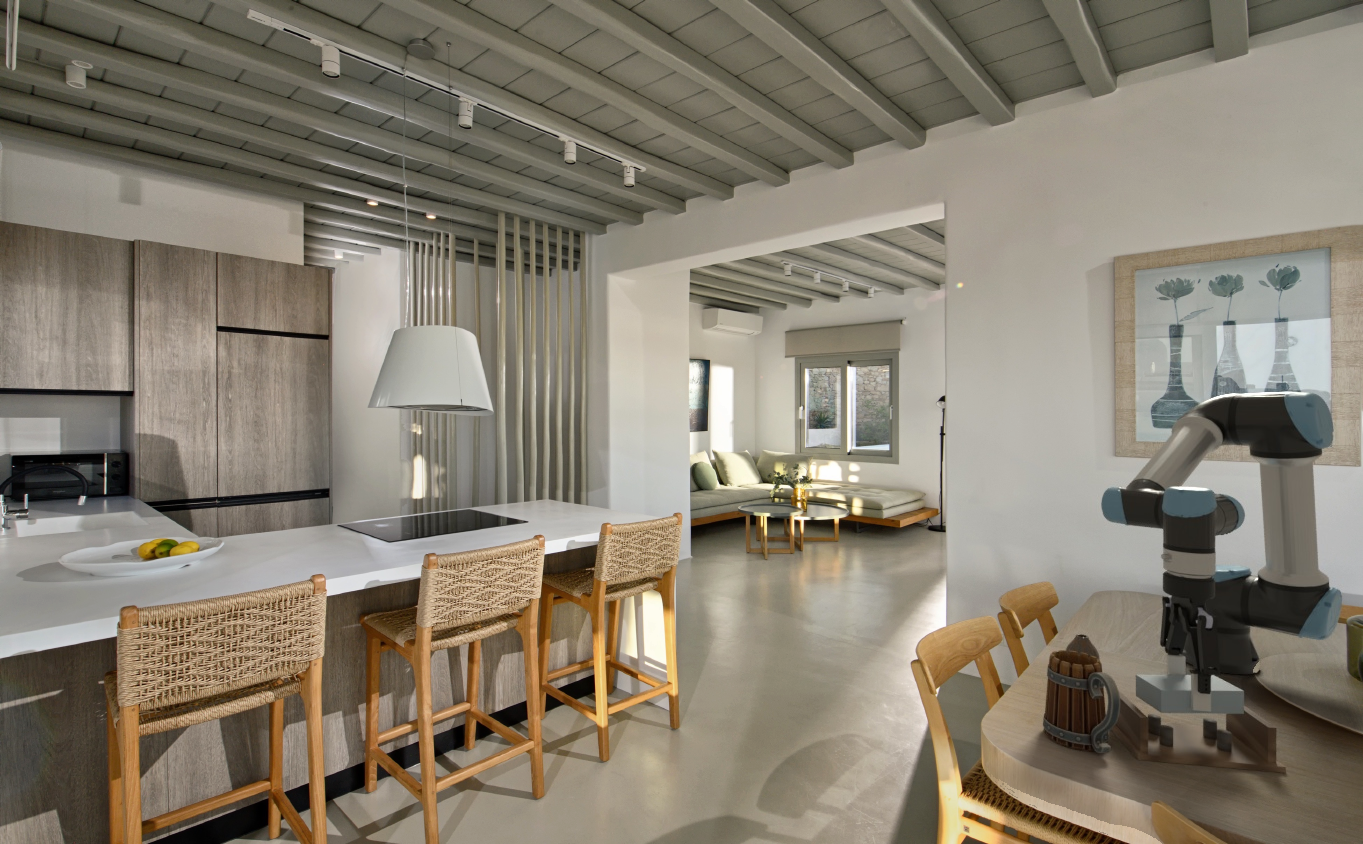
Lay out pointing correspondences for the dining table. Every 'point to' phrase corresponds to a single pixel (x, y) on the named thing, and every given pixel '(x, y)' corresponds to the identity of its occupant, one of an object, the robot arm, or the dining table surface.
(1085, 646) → the vase
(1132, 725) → the peg frame
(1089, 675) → the mug
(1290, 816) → the dining table surface
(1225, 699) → the board
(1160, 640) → the robot arm
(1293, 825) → the dining table surface
